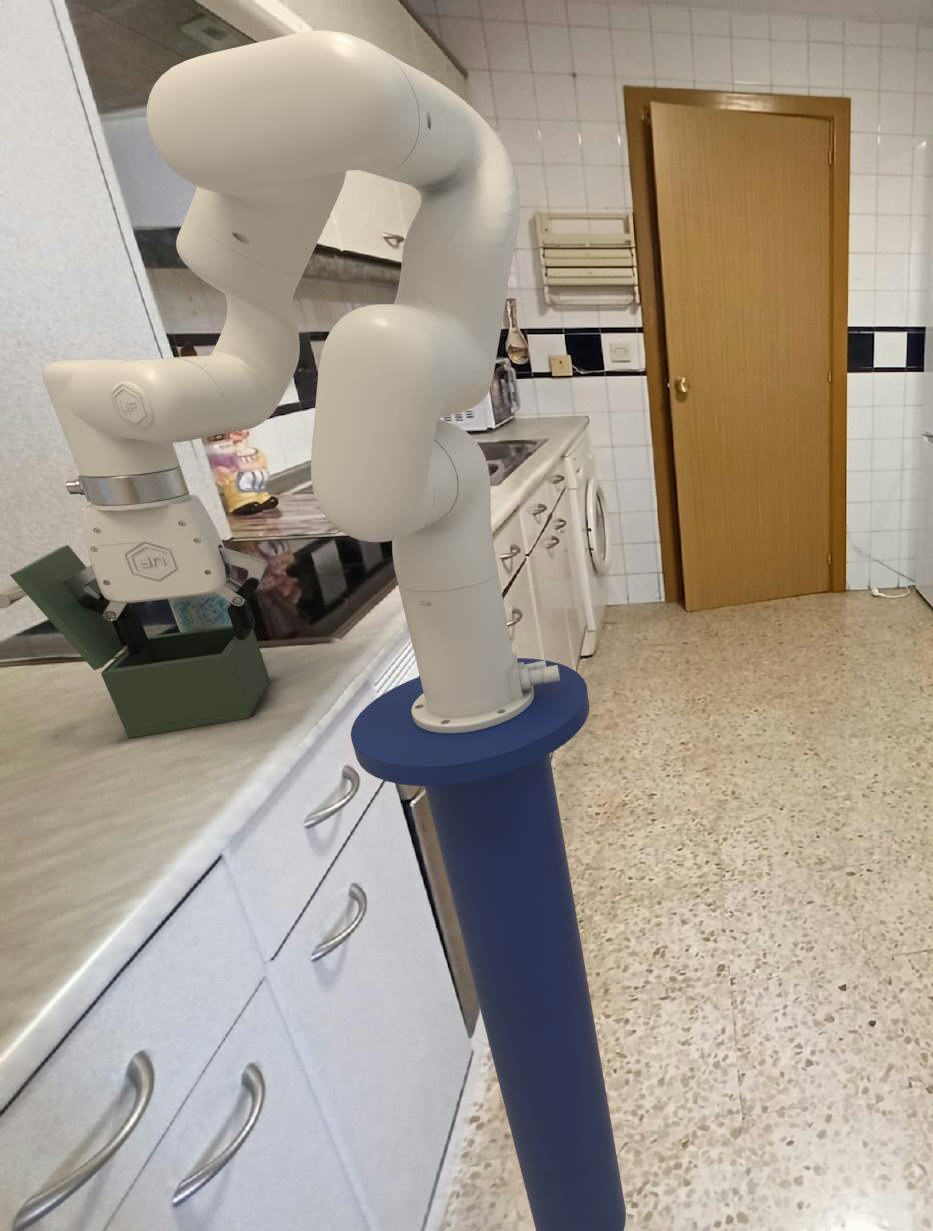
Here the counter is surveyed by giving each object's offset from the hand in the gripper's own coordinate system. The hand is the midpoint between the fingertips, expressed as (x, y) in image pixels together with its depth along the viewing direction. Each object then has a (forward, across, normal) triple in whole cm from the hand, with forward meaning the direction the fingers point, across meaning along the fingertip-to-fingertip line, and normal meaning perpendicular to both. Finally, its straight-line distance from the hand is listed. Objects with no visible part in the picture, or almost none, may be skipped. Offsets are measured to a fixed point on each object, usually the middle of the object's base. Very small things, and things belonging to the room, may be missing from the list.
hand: (193, 642), depth 79 cm
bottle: (+8, -1, +9) cm, 12 cm away
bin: (+8, -1, 0) cm, 8 cm away
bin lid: (-6, -8, 0) cm, 9 cm away
